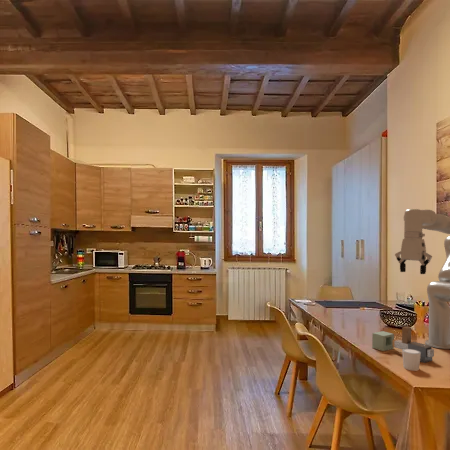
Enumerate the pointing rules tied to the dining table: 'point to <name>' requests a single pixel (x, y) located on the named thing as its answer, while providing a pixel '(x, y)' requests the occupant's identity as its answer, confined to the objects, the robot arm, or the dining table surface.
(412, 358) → the shot glass
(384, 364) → the dining table surface
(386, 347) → the socket block
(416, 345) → the sleeve
